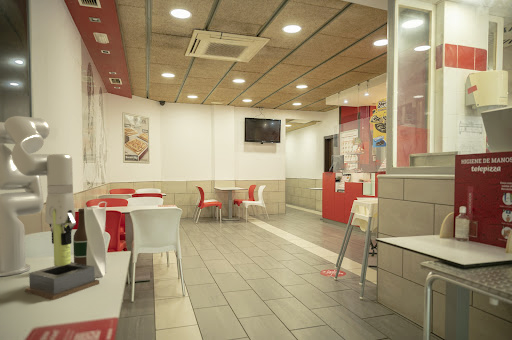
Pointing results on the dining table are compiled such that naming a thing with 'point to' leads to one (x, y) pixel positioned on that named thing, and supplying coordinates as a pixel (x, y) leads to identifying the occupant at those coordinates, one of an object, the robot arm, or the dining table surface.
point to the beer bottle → (80, 240)
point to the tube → (60, 251)
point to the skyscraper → (96, 238)
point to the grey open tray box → (61, 280)
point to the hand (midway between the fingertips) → (61, 243)
